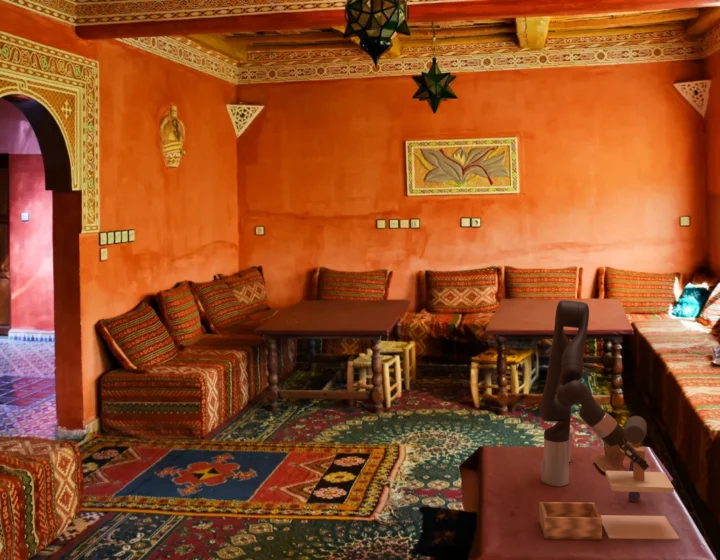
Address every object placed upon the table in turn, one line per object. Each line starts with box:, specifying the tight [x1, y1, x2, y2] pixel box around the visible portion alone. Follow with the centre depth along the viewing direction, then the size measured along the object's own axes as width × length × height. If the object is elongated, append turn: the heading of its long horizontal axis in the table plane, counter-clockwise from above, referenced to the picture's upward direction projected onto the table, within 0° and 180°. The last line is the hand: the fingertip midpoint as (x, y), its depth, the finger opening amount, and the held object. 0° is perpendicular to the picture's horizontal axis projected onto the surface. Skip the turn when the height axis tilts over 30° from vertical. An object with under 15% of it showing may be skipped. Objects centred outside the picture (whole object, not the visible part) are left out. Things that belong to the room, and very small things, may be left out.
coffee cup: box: [551, 422, 575, 463], centre depth 333 cm, size 10×10×15 cm
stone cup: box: [592, 441, 627, 474], centre depth 322 cm, size 15×12×15 cm
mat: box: [600, 514, 680, 540], centre depth 271 cm, size 22×17×1 cm
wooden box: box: [538, 501, 603, 541], centre depth 270 cm, size 18×13×7 cm
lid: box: [605, 447, 675, 494], centre depth 269 cm, size 19×14×12 cm
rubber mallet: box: [624, 415, 648, 503], centre depth 291 cm, size 12×8×30 cm, turn 158°
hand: (645, 465), depth 268 cm, fingers closed on lid, 3 cm apart
